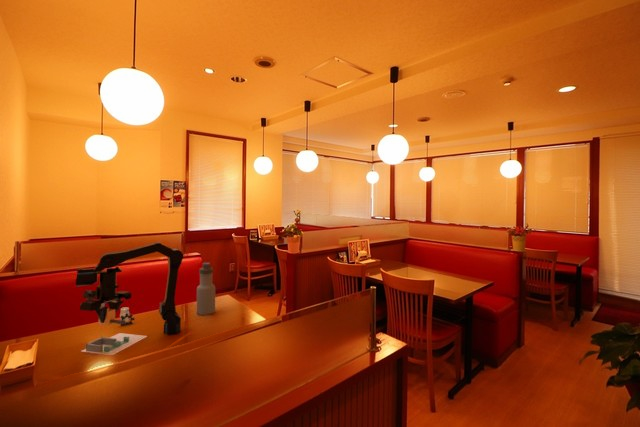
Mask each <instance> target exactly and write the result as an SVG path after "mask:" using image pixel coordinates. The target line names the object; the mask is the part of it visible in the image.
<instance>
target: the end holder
mask: <svg viewBox="0 0 640 427" xmlns="http://www.w3.org/2000/svg"><path fill="white" fill-rule="evenodd" d="M115 341H116V339H115V338H110V337H103V336H101V337H100V338H96V339H95V340H93V341H91V342H88V343H85V346H86V347H85V349H86V351H94V352H103V345H101V344H107V345H113V342H115Z"/></svg>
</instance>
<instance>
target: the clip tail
mask: <svg viewBox="0 0 640 427" xmlns="http://www.w3.org/2000/svg"><path fill="white" fill-rule="evenodd" d="M118 346H119V342H113V346H112V347H110V346H105V347H104V351H105V352H109V351H111V350H113V349H115V348H117V347H118Z"/></svg>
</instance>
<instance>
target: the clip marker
mask: <svg viewBox="0 0 640 427" xmlns="http://www.w3.org/2000/svg"><path fill="white" fill-rule="evenodd" d="M128 341H129V337H124V341H122V342H121V341H115V342H119V346H120V345H122V344H124V343H126V342H128Z"/></svg>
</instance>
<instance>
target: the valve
mask: <svg viewBox="0 0 640 427" xmlns="http://www.w3.org/2000/svg"><path fill="white" fill-rule="evenodd" d="M129 309H130V308H129V306H128V307H122V308H120V313H119V318H120V320H122V321H125V324H120V326H121V327H123V326H127V325H132V324H133V321H135V317H133V314H132V313H130V311H129Z"/></svg>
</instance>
